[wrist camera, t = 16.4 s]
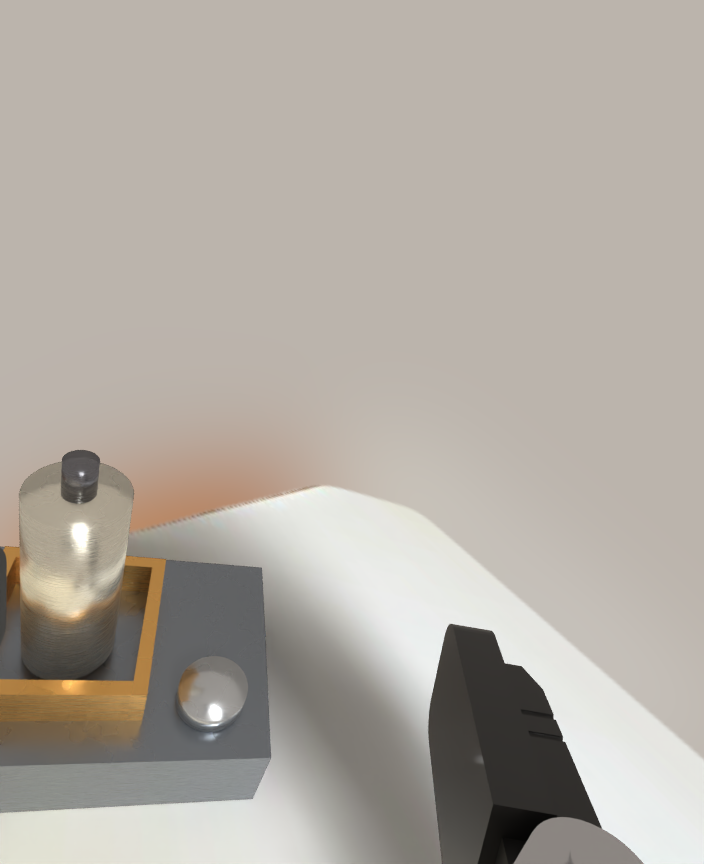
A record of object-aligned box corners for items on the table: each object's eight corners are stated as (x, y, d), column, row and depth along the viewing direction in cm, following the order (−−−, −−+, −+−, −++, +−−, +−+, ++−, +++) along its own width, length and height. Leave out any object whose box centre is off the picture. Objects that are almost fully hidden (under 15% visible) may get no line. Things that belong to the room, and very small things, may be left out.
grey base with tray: (248, 609, 44) (269, 545, 41) (252, 798, 33) (281, 734, 29) (-1, 595, 39) (-5, 519, 35) (-99, 817, 27) (-119, 741, 24)
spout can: (121, 609, 35) (144, 437, 28) (106, 681, 31) (129, 502, 24) (35, 605, 34) (37, 422, 27) (8, 680, 30) (2, 488, 23)
